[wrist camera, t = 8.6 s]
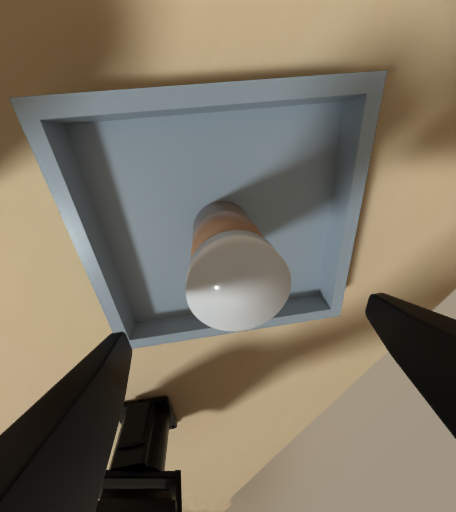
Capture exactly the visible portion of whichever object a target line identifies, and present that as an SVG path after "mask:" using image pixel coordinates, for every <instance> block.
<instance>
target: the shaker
mask: <svg viewBox="0 0 456 512" xmlns="http://www.w3.org/2000/svg"><path fill="white" fill-rule="evenodd" d="M290 290H291V274H290V271H289V268H288V266H287V264H286V262H285V261H284V260H283V258H282V257H281V256H280V255H279V253H278V252H277V251H276V249H275V248H274V247H273V245H272V244H271V243H270V242H269V241H268V240H266V239H265V238H264V237H263V235H262V234H261V233H260V231H259V230H258V229H257V227H256V226H255V225H254V223H253V222H252V221H251V219H250V218H249V217H248V215H247V214H246V213H245V211H244V210H243V209H242V208H241V207H240V206H238V205H237V204H235V203H232V202H229V201H216V202H213V203H210V204H208V205H206V206H205V207H204V208H202V209H201V210H200V212H199V213H198V214H197V216H196V218H195V221H194V225H193V236H192V248H191V259H190V262H189V265H188V271H187V281H186V299H187V303H188V306H189V308H190V310H191V311H192V313H193V314H194V315H195V316H196V317H197V318H198V319H199V320H200V321H201V322H203V323H204V324H206V325H208V326H210V327H212V328H215V329H218V330H223V331H243V330H248V329H252V328H255V327H257V326H260V325H262V324H264V323H266V322H267V321H269V320H270V319H272V318H273V317H274V316H275V315H276V314H277V313H278V312H279V311H280V310H281V309H282V307H283V306H284V305H285V303H286V301H287V299H288V297H289V294H290Z"/></svg>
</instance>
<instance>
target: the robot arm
mask: <svg viewBox="0 0 456 512" xmlns="http://www.w3.org/2000/svg"><path fill="white" fill-rule="evenodd" d="M365 313H366V317H367V319H368V320H369V322H370V323H371V325H372V326H373V328H374V329H375V331H376V333H377V334H378V336H379V337H380V339H381V340H382V342H383V344H384V345H385V347H386V348H387V350H388V351H389V353H390V354H391V356H392V357H393V358H394V360H395V361H396V362H397V364H399V366H400V367H401V369H402V370H403V371H404V373H405V374H406V375H407V377H408V378H409V379H410V380H411V382H412V383H413V384H414V386H415V387H416V388H417V389H418V391H419V392H420V393H421V395H422V396H423V397H424V398H425V400H426V401H427V402H428V404H429V405H430V406H431V408H432V409H433V410H434V411H435V413H436V414H437V415H438V417H439V418H440V419H441V420H442V422H443V423H444V424H445V426H446V427H447V428H448V429H449V431H450V432H451V433H452V435H453V436H454V437H455V439H456V320H455V319H452V318H450V317H447V316H444V315H442V314H439V313H436V312H433V311H431V310H428V309H425V308H423V307H420V306H417V305H414V304H412V303H409V302H406V301H404V300H401V299H398V298H395V297H393V296H390V295H387V294H385V293H376V294H372V295H370V296H369V299H368V303H367V307H366V311H365ZM131 358H132V348H131V345H130V343H129V340H128V338H127V335H126V333H125V332H116V333H112V334H110V335H109V336H108V337H107V338H106V339H104V340H103V341H102V342H101V343H100V344H99V345H98V346H97V347H96V348H95V349H94V350H92V351H91V352H90V353H89V354H88V355H87V356H86V357H85V358H84V359H83V360H82V361H81V362H79V363H78V364H77V365H76V366H75V367H74V368H73V369H72V370H71V371H70V372H69V373H67V374H66V375H65V376H64V377H63V378H62V379H61V380H60V381H59V382H58V383H57V384H55V385H54V386H53V387H52V388H51V389H50V390H49V391H48V392H47V393H46V394H45V395H44V396H42V397H41V398H40V399H39V400H38V401H37V402H36V403H35V404H34V405H33V406H32V407H30V408H29V409H28V410H27V411H26V412H25V413H24V414H23V415H22V416H21V417H20V418H18V419H17V420H16V421H15V422H14V423H13V424H12V425H11V426H10V427H9V428H8V429H6V430H5V431H4V432H3V433H2V434H1V435H0V512H182V499H181V470H175V471H164V470H165V461H166V451H167V442H168V433H169V429H174V428H176V427H177V420H176V418H175V415H174V412H173V409H172V406H171V403H170V401H169V398H168V397H160V398H154V399H148V400H143V401H137V402H131V403H126V404H124V400H125V395H126V389H127V383H128V376H129V370H130V364H131ZM119 421H120V423H121V429H120V432H119V436H118V439H117V443H116V446H115V450H114V454H113V457H112V461H111V464H110V468H109V470H106V469H107V465H108V461H109V457H110V454H111V450H112V446H113V442H114V439H115V435H116V431H117V427H118V424H119ZM98 499H100V500H99V501H98Z"/></svg>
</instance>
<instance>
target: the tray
mask: <svg viewBox="0 0 456 512" xmlns="http://www.w3.org/2000/svg"><path fill="white" fill-rule="evenodd" d="M386 75H387V70H384V71H370V72H356V73H342V74H329V75H315V76H301V77H287V78H273V79H259V80H246V81H232V82H218V83H204V84H190V85H176V86H162V87H149V88H135V89H121V90H107V91H93V92H79V93H66V94H52V95H38V96H24V97H10V98H9V99H10V102H11V104H12V106H13V108H14V111H15V113H16V115H17V117H18V120H19V122H20V124H21V126H22V129H23V131H24V133H25V135H26V138H27V140H28V142H29V144H30V147H31V149H32V151H33V153H34V156H35V158H36V160H37V163H38V165H39V167H40V169H41V172H42V174H43V176H44V178H45V181H46V183H47V185H48V187H49V190H50V192H51V194H52V196H53V199H54V201H55V203H56V205H57V208H58V210H59V212H60V214H61V217H62V219H63V221H64V223H65V226H66V228H67V230H68V232H69V235H70V237H71V239H72V241H73V244H74V246H75V248H76V250H77V253H78V255H79V257H80V259H81V262H82V264H83V266H84V268H85V271H86V273H87V275H88V277H89V280H90V282H91V284H92V286H93V289H94V291H95V293H96V295H97V298H98V300H99V302H100V304H101V307H102V309H103V311H104V313H105V316H106V318H107V320H108V323H109V325H110V327H111V329H112V332H113V333H116V332H125V333H126V335H127V338H128V340H129V343H130V345H131V348H132V349H134V348H140V347H146V346H153V345H159V344H165V343H172V342H178V341H184V340H191V339H197V338H203V337H210V336H216V335H222V334H229V333H235V332H241V331H223V330H218V329H215V328H212V327H210V326H208V325H206V324H204V323H203V322H201V321H200V320H199V319H198V318H197V317H196V316H195V315H194V314H193V313H192V311H191V310H190V308H189V306H188V303H187V299H186V281H187V271H188V265H189V262H190V259H191V248H192V236H193V225H194V221H195V218H196V216H197V214H198V213H199V212H200V210H201V209H202V208H204V207H205V206H206V205H208V204H210V203H213V202H216V201H229V202H232V203H235V204H237V205H238V206H240V207H241V208H242V209H243V210H244V211H245V213H246V214H247V215H248V217H249V218H250V219H251V221H252V222H253V223H254V225H255V226H256V227H257V229H258V230H259V231H260V233H261V234H262V235H263V237H264V238H265V239H266V240H268V241H269V242H270V243H271V244H272V245H273V247H274V248H275V249H276V251H277V252H278V253H279V255H280V256H281V257H282V258H283V260H284V261H285V262H286V264H287V266H288V268H289V271H290V274H291V290H290V294H289V297H288V299H287V301H286V303H285V305H284V306H283V307H282V309H281V310H280V311H279V312H278V313H277V314H276V315H275V316H274V317H273V318H272V319H270V320H269V321H267V322H266V323H264V324H262V325H260V326H257V327H255V328H252V329H248V330H254V329H260V328H267V327H273V326H279V325H286V324H292V323H298V322H305V321H311V320H317V319H324V318H330V317H336V316H340V312H341V307H342V302H343V297H344V292H345V287H346V282H347V276H348V271H349V266H350V261H351V256H352V251H353V245H354V240H355V235H356V230H357V225H358V220H359V214H360V209H361V204H362V199H363V194H364V189H365V184H366V178H367V173H368V168H369V163H370V158H371V153H372V147H373V142H374V137H375V132H376V127H377V122H378V116H379V111H380V106H381V101H382V96H383V91H384V86H385V80H386ZM248 330H243V331H248Z"/></svg>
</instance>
